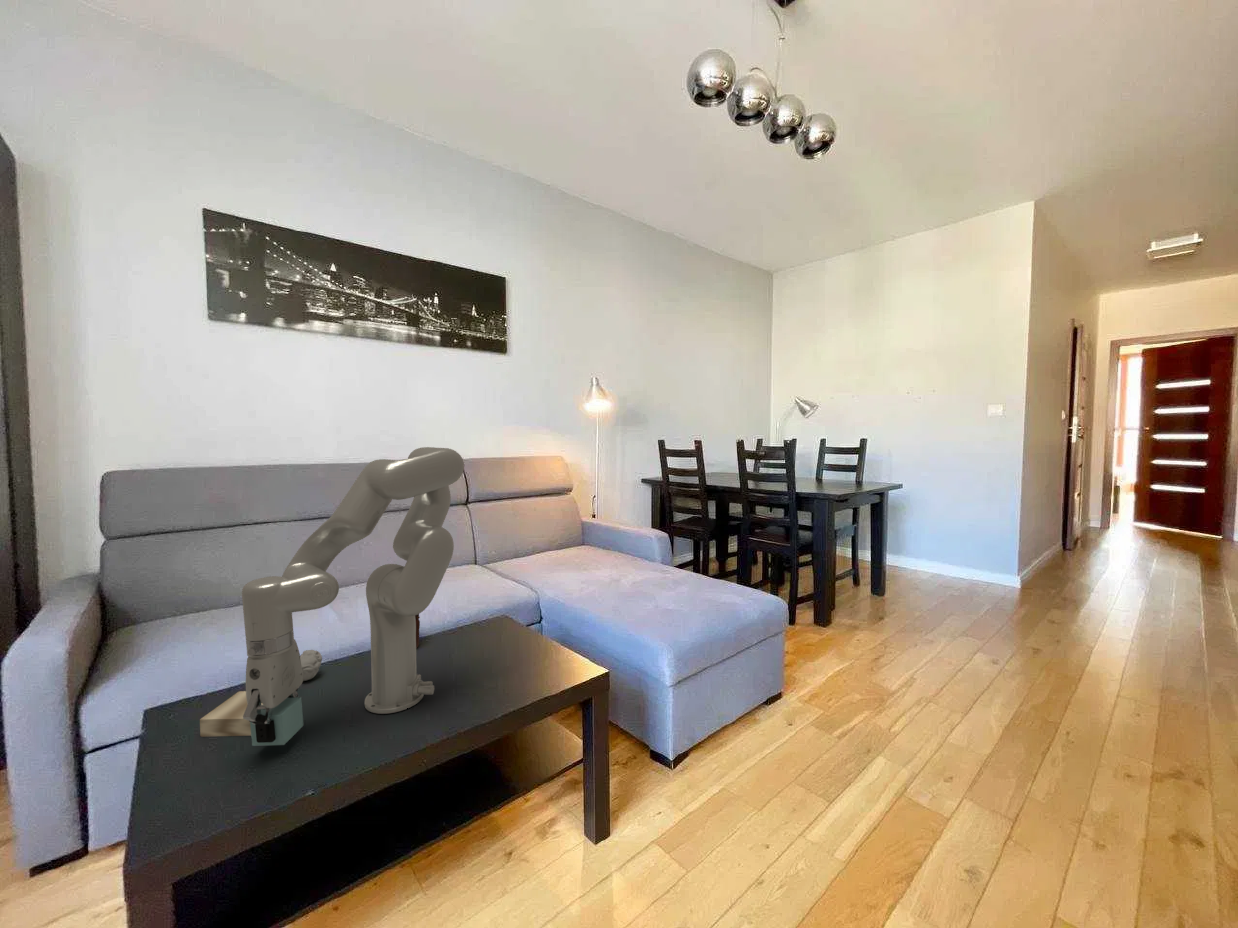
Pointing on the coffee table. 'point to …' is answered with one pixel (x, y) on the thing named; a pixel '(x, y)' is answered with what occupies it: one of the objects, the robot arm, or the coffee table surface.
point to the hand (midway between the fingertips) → (278, 729)
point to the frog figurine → (310, 663)
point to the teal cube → (283, 721)
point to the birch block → (227, 718)
